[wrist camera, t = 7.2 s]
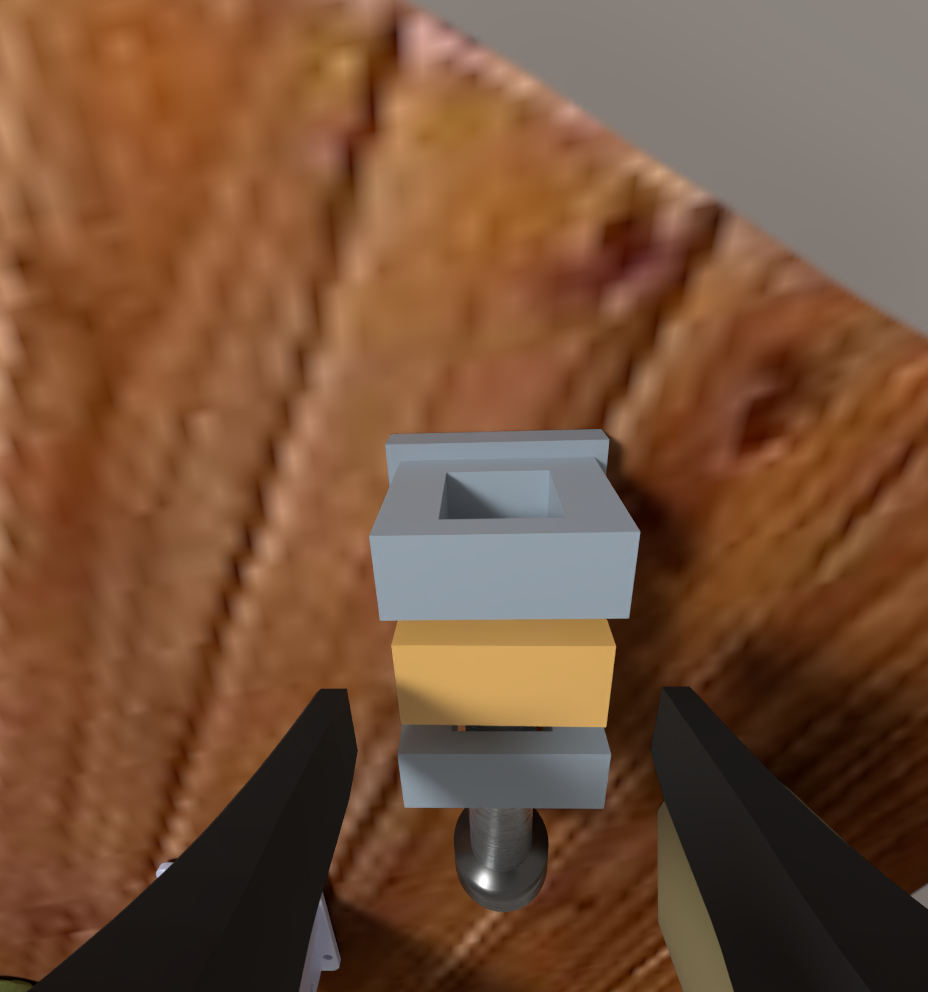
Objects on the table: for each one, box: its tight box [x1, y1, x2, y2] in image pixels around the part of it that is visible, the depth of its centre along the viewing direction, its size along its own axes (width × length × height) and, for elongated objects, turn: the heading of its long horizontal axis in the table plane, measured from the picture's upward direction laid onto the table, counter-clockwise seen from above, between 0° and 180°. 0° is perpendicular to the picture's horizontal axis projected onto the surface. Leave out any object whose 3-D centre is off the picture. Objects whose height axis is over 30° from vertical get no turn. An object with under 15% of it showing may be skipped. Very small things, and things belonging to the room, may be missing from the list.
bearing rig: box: [369, 429, 640, 809], centre depth 15 cm, size 10×6×6 cm, turn 2°
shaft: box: [454, 725, 549, 912], centre depth 16 cm, size 12×3×3 cm, turn 2°
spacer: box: [392, 619, 616, 727], centre depth 14 cm, size 3×5×4 cm, turn 92°
